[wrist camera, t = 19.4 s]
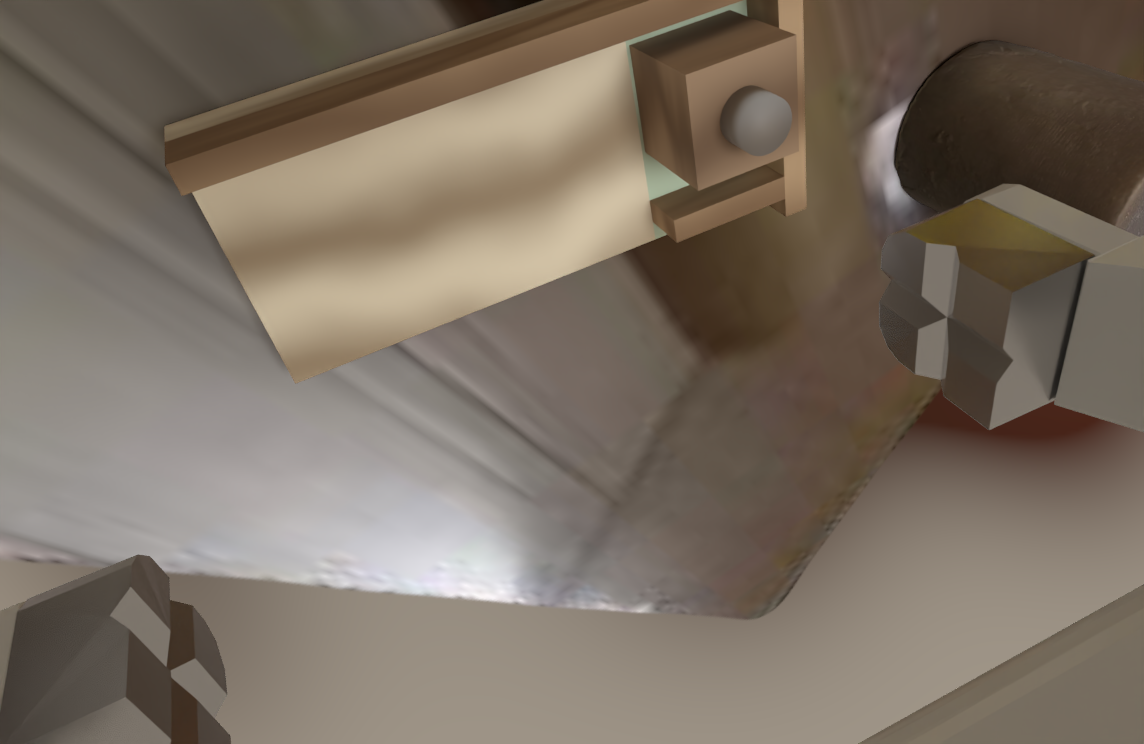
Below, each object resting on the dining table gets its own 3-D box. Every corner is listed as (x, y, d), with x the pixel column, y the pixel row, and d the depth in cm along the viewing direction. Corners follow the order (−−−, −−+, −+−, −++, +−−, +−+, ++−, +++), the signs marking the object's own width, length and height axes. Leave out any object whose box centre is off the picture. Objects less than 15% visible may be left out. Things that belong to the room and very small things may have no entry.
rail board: (164, 126, 32) (165, 165, 29) (742, -66, 37) (801, -52, 33) (290, 361, 40) (302, 414, 36) (756, 176, 44) (806, 208, 41)
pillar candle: (865, 175, 47) (1089, 297, 36) (967, 7, 44) (1252, 85, 32) (959, 221, 53) (1181, 340, 41) (1057, 75, 49) (1329, 161, 38)
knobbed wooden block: (629, 45, 35) (705, 85, 31) (730, 9, 36) (819, 43, 31) (645, 152, 39) (716, 204, 34) (737, 117, 40) (820, 162, 35)
